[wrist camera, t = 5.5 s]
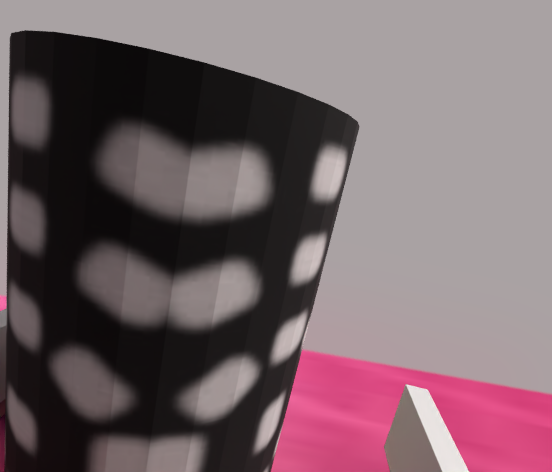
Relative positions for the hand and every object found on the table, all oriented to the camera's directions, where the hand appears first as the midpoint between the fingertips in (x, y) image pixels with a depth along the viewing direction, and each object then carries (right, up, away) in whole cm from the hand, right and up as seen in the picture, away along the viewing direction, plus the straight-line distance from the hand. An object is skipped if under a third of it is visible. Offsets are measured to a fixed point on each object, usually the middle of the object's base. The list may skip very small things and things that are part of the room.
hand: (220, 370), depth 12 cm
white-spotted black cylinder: (-4, -11, +2) cm, 11 cm away
